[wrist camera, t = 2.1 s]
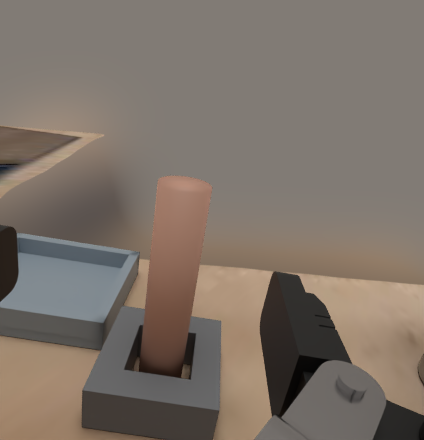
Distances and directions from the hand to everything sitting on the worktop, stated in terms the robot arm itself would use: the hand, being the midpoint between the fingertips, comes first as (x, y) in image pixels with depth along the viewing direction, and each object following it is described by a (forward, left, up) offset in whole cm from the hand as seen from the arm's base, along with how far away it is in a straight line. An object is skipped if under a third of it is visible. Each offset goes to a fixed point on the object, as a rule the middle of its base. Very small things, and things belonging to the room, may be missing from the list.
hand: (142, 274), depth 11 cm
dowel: (0, -11, -17) cm, 21 cm away
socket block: (0, -11, -17) cm, 21 cm away
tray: (+13, -20, -17) cm, 30 cm away
